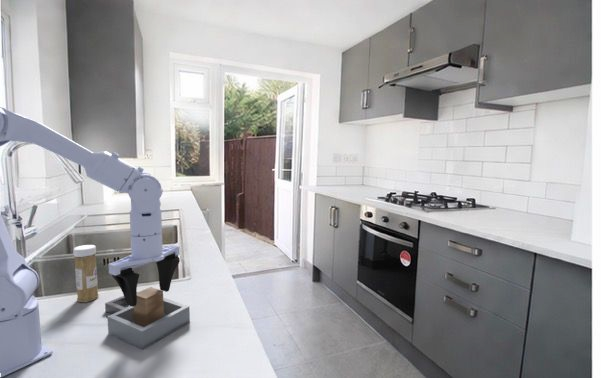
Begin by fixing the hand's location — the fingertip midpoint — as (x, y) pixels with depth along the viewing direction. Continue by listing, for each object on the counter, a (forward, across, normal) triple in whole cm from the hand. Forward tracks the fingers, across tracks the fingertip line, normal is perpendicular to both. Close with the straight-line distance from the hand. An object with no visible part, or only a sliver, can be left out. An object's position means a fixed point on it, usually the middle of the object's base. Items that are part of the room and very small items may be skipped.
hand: (148, 297), depth 63 cm
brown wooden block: (+6, 0, 0) cm, 6 cm away
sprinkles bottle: (+7, +1, +26) cm, 26 cm away
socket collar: (+7, +3, +12) cm, 14 cm away
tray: (+7, 0, 0) cm, 7 cm away
